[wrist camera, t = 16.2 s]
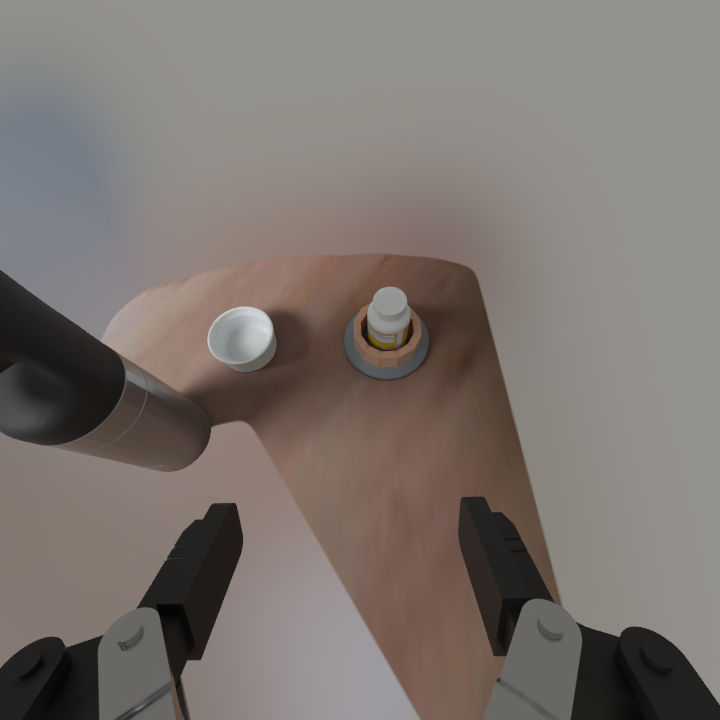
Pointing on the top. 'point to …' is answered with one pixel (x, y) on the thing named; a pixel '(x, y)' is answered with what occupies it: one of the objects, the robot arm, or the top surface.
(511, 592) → the robot arm
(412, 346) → the holder
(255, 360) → the ramekin
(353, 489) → the top surface
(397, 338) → the supplement bottle
